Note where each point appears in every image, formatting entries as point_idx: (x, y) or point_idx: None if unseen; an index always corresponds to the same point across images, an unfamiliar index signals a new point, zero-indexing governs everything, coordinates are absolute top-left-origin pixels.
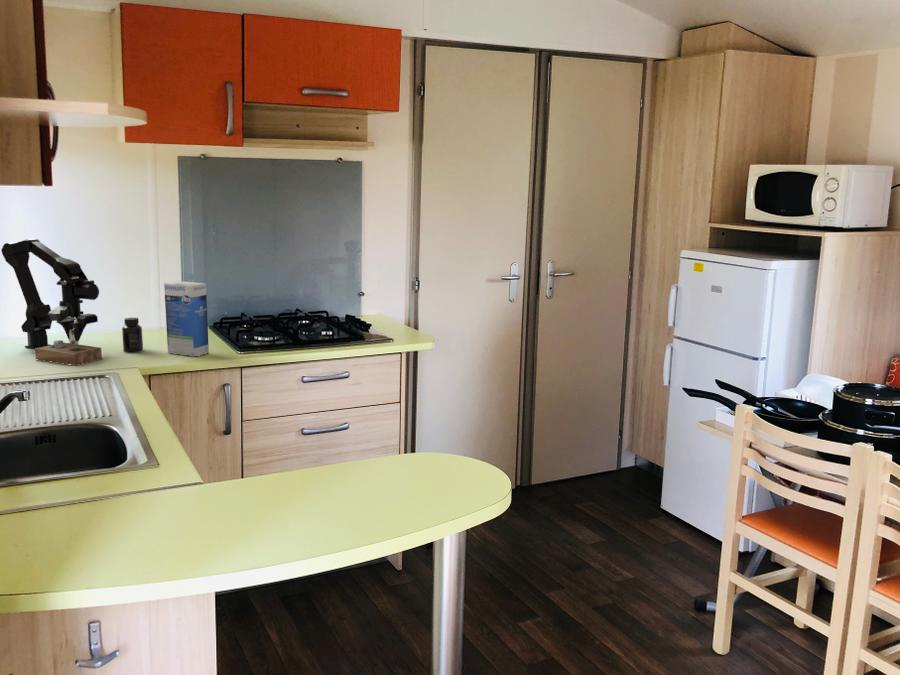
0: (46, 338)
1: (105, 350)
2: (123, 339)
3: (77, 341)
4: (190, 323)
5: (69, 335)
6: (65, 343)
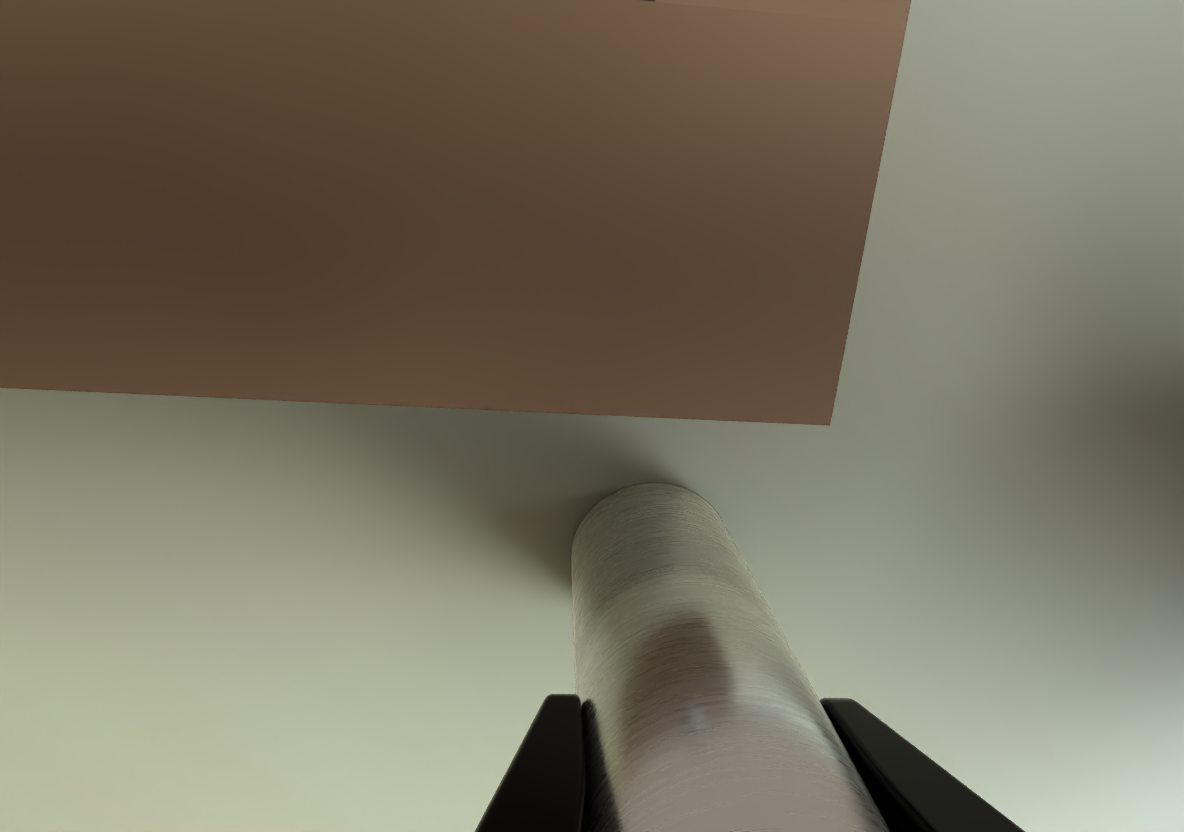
0: None
1: (253, 819)
2: None
3: None
4: None
5: (812, 780)
6: (632, 328)
